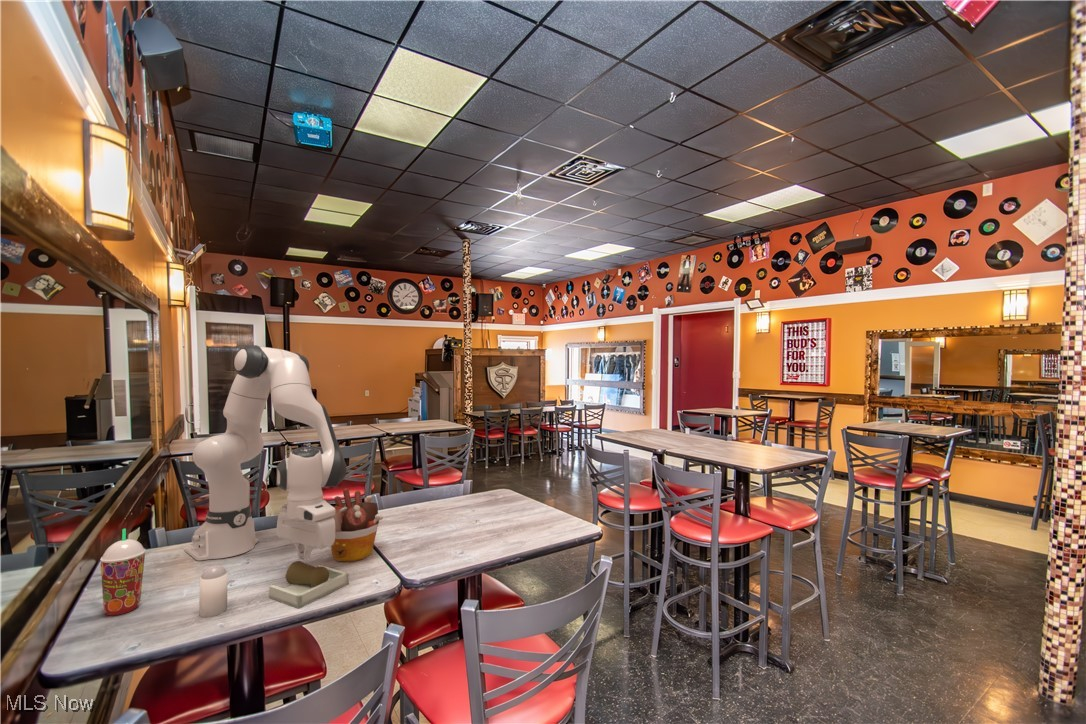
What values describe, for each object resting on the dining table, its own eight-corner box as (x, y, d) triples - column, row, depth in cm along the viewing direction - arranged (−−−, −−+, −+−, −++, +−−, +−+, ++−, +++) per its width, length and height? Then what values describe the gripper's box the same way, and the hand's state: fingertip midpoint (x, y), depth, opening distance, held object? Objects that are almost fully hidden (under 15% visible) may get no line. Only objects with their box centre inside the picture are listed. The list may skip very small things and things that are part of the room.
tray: (269, 597, 120) (269, 586, 120) (320, 575, 133) (320, 564, 133) (298, 608, 114) (298, 596, 114) (348, 584, 128) (348, 573, 128)
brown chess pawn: (282, 583, 124) (310, 589, 120) (290, 559, 127) (319, 564, 123) (299, 585, 129) (328, 590, 125) (308, 562, 132) (335, 567, 128)
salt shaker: (194, 614, 112) (195, 567, 112) (219, 603, 117) (220, 559, 117) (207, 619, 109) (207, 572, 110) (231, 609, 114) (232, 563, 114)
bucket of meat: (387, 559, 145) (388, 496, 145) (331, 572, 135) (332, 504, 136) (370, 540, 161) (370, 483, 162) (319, 551, 151) (319, 490, 152)
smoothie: (91, 621, 108) (93, 536, 109) (108, 605, 116) (110, 526, 116) (136, 614, 112) (138, 531, 112) (149, 599, 119) (151, 521, 120)
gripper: (270, 505, 127) (269, 555, 127) (319, 516, 118) (318, 570, 118) (291, 500, 133) (291, 548, 133) (339, 509, 124) (339, 561, 123)
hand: (304, 558), depth 125 cm, fingers closed
